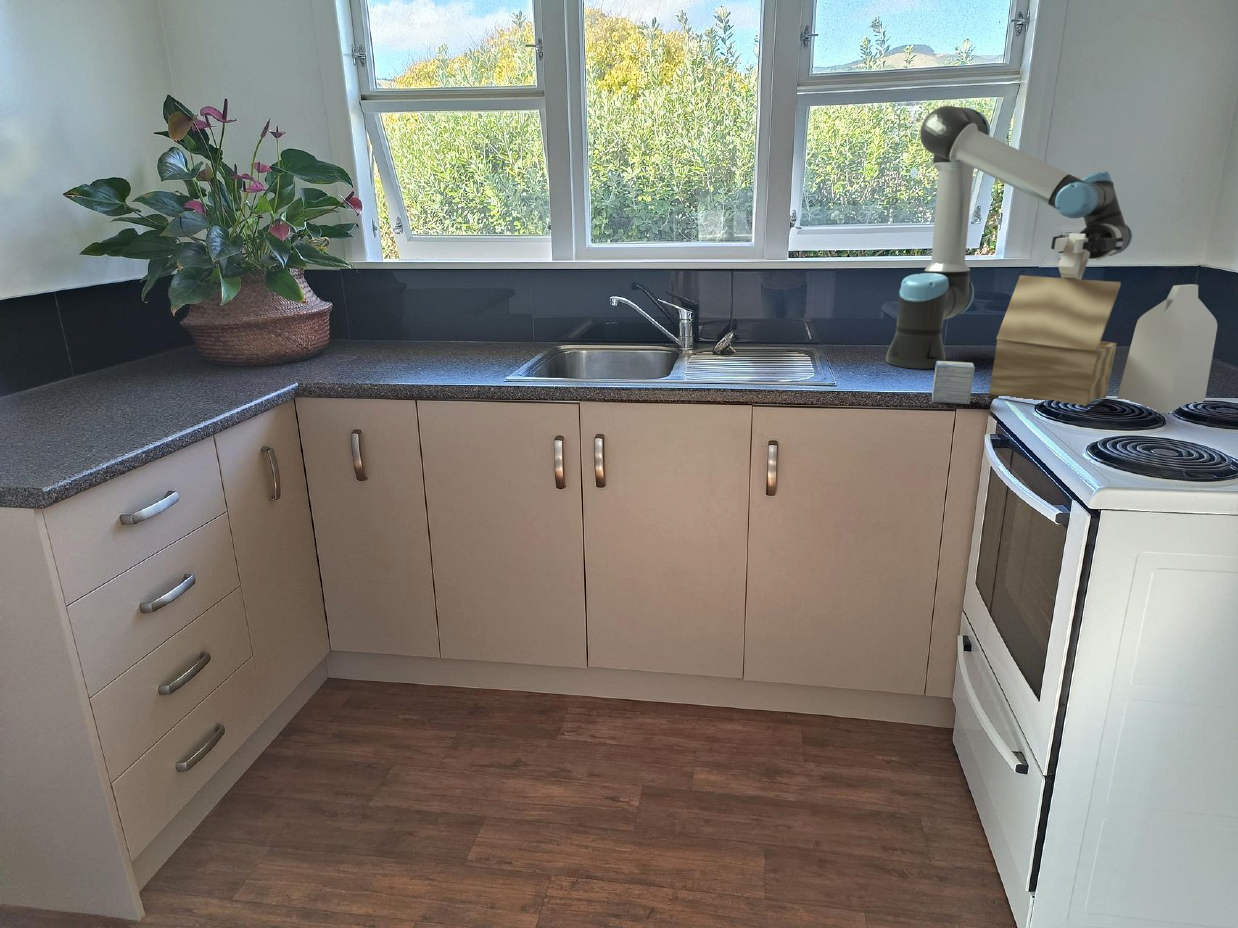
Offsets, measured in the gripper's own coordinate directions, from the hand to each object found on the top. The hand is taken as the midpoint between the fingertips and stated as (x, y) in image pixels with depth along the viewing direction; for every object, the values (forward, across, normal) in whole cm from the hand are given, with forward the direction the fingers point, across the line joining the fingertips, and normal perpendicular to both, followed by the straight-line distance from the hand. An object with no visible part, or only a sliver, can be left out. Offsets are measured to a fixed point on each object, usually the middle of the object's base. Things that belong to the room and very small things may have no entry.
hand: (1066, 245), depth 169 cm
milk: (-16, -20, -34) cm, 42 cm away
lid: (-6, 0, -12) cm, 14 cm away
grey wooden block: (+12, +15, -34) cm, 39 cm away
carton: (-5, 0, -34) cm, 34 cm away
